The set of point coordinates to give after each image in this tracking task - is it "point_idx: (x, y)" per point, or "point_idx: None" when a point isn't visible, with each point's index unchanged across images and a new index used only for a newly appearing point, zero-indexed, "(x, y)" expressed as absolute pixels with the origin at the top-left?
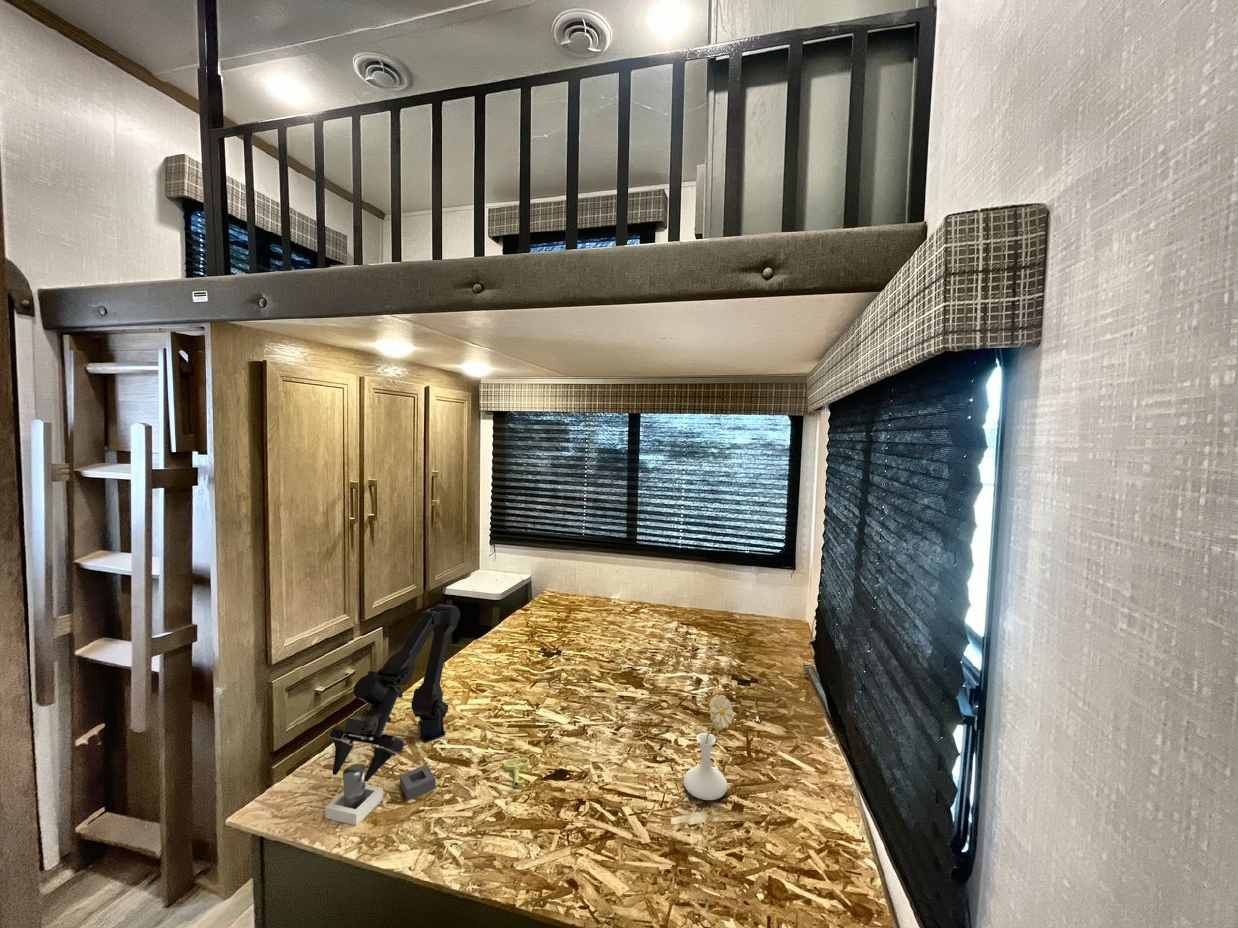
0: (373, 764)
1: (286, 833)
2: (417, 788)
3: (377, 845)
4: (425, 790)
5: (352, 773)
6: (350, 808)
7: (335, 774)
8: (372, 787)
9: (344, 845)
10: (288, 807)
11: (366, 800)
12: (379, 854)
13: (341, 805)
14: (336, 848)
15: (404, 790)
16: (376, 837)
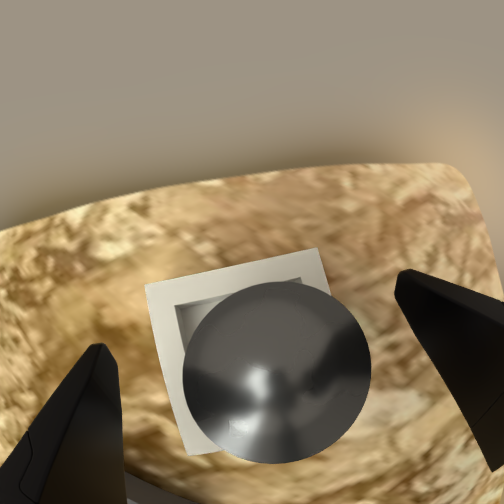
0: (27, 439)
1: (342, 167)
2: None
3: (35, 264)
4: None
5: (252, 343)
6: (202, 297)
7: (395, 291)
8: None
9: (121, 215)
10: (439, 234)
11: (181, 369)
12: (15, 245)
13: None
14: (135, 196)
15: (136, 486)
16: (56, 285)
